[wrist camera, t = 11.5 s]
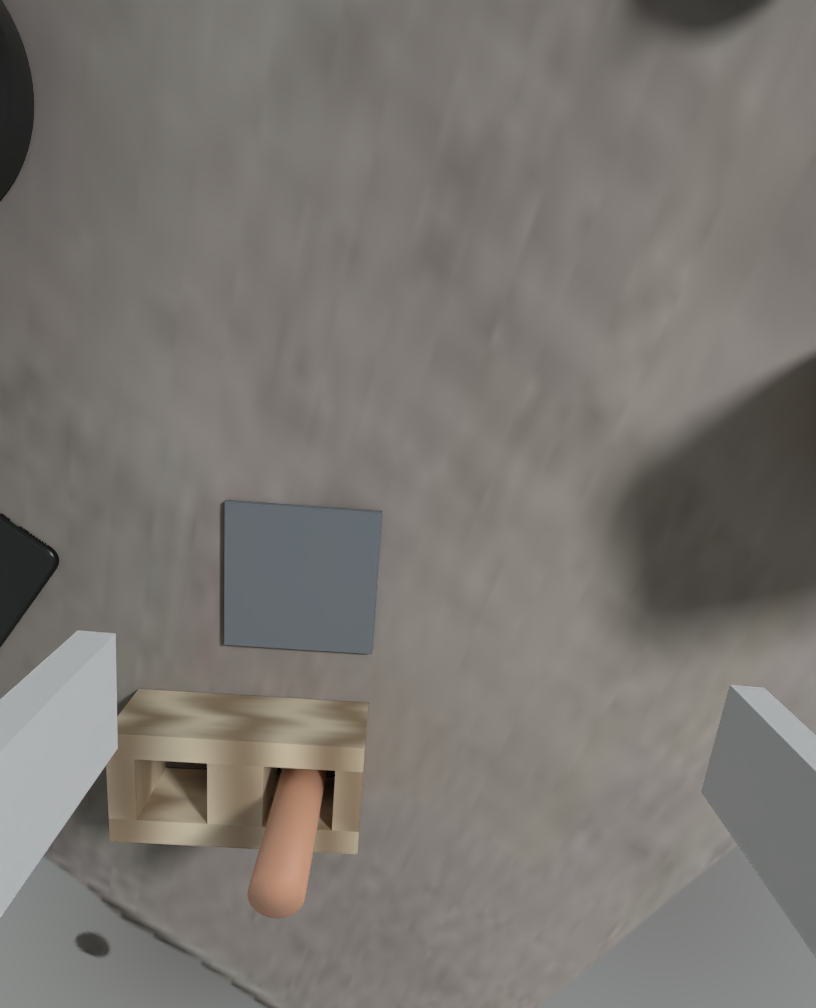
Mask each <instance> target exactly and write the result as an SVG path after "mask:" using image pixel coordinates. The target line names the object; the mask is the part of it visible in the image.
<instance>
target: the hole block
mask: <svg viewBox="0 0 816 1008" xmlns="http://www.w3.org/2000/svg"><path fill="white" fill-rule="evenodd" d="M368 704H369V703H363V702H347V701H330V700H313V699H297V698H280V697H264V696H247V695H231V694H214V693H198V692H181V691H165V690H148V689H138V690H137V692H136V693H135V694H134V696H133V697H132V698H131V699H130V701H129V702H128V703H127V705H126V706H125V707H124V708H123V710H122V711H121V712H120V714H119V715H118V716H117V733H118V749H117V750H116V752H115V753H114V754H113V756H112V757H111V759H110V760H109V762H108V763H107V764H106V774H107V794H108V813H109V832H110V841H113V842H132V843H151V844H171V845H190V846H209V847H229V848H248V849H260V846H261V842H262V839H263V835H264V832H265V828H266V825H267V821H268V817H269V814H270V810H271V807H272V803H273V800H274V796H275V792H276V789H277V785H278V782H279V778H280V775H281V774H277V768H295V769H313V770H330V771H335V777H326V779H325V785H324V791H323V796H322V802H321V808H320V814H319V820H318V826H317V831H316V837H315V843H314V849H313V852H325V853H345V854H357V852H358V840H359V828H360V815H361V803H362V790H363V775H364V761H365V747H366V732H367V718H368ZM166 761H171V762H189V763H206V764H207V770H198V769H180V768H166Z"/></svg>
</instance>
